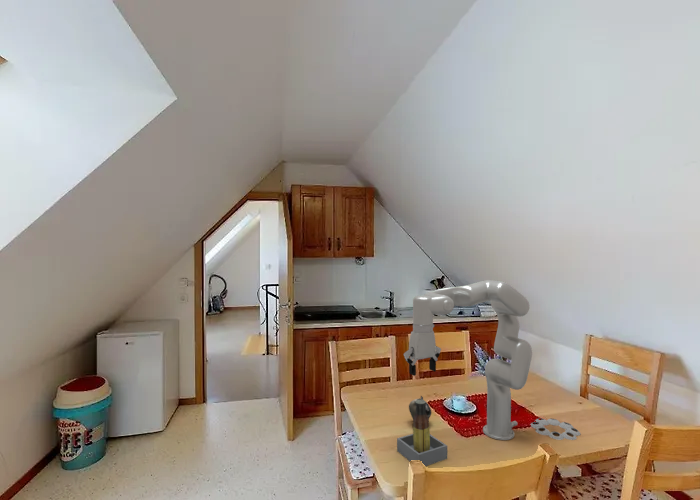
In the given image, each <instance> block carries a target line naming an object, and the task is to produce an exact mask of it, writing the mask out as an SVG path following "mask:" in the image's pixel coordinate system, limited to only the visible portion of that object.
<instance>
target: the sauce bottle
mask: <svg viewBox="0 0 700 500" xmlns="http://www.w3.org/2000/svg"><path fill="white" fill-rule="evenodd" d="M426 402H427V401H426V400H424V399H423V400H416V401H415V405H416V413H415V415H414V417H413V418H412V434H413V441H414V450H416V451H417V452H418V453H422V452H425V451H428V450H430V418H428V416H427V414H426V408H425V406H426Z"/></svg>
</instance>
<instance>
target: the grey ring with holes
mask: <svg viewBox="0 0 700 500" xmlns="http://www.w3.org/2000/svg"><path fill="white" fill-rule="evenodd" d="M539 419H541V420H539ZM535 421H536V422H535ZM533 423H534V424H533ZM536 423H537V424H536ZM529 425H531V426H530V427H531V428H533V429H535V432H536V433H537V434H538V435H541V436H548V437H550V438H551V439H554V440H557V441H559V440H560V441H561V440H562V441H563V440H564V439H565V440H571V441H575V440H577V439H578V438H577V436H578V437H579V436H580V435H581V432H580V431H579V430H578V429H576V428H575V427H574V426H573V425H572V424H571V423H569V422H565V421H563V422H560V420H558V419H556V418H553V417H552V418H548V419H545V418H540V417H538V418H536V419H535V420H534V422H531V423H530V424H529ZM549 425H552V426H557V427H558V426H559V427H560V428H561V429H564V432H562V433H560V432H558V431H550V430H549V429H547V428H546V426H549ZM541 430H542V431H541ZM554 434H555V435H554ZM569 434H570V435H571V436H570V435H569ZM556 435H559V436H556Z"/></svg>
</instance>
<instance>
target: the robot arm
mask: <svg viewBox="0 0 700 500" xmlns="http://www.w3.org/2000/svg"><path fill="white" fill-rule="evenodd" d="M489 301H490V305H491V307H492V309H493V311H494V313H495V314H496V316H497V320H498V325H497V329H496V330H497V331H496V335H495V339H494V343H493V351H494V353H495V354H496V355H497V356H499V357H503V358H505V359H508V360H511V362H509V361H506V360H503V359H500V358H492V359H489V360H488V361H487V362H486V364H485V368H484V374H485V378H486V387H487V388H486V391H487V392H486V394H487V395H486V424H485V425H484V426H483V427H482V432H483V434H484V435H485V436H487V437H489V438H492V439H495V440H499V441H509V440H513V438H515V431H514V430H513V428H514V427H516V426H518V422H517V421H516V420H514V421H511V416H512V415H511V414H512V413H511V411H512V406H511V405H512V392H511V389H512V390H517V391H520V390H522V389H523V388H524V387H525V386H526V383H527V380H528V376H529V372H530V368H531V363H532V357H533V350H532V346H531V344H530V343H529V342H528V341H527V340H525V339H522V338H520V337H519V334H520V333H519V332H520V321H519V318H518V317H524V316H526V315H527V314H528V313H529V311H530V303H529V300H528V299H527V297H526V296H524V294H523V293H521V292H520V291H518V290H517V289H516V288H514V287H513V286H512V284H510V283H508V282H506V281H499V280H495V279H494V280H492V279H485V280H481V281H478V282H474V283H469V284H467V285H462V286H460V285H459V286H454V287H445V288H439V289H436V290H431V291H427V292H426V293H424V294H423V295H415V296H414V297H413V299H412V331H411V332H410V336H409V341H408V350H406V351H405V352H404V353H403V357H404V359H405V361H406V362H407V364H408V371H409V372H408V373H409V375H412V376H417V365H416V363H417V361H418V360H424V359H429V358H430V359H429V360H428V362H429V363H428V364H429V365H428V367H429V368H428V369H429V370H430V371H433V372H436V371H437V361H438V358H439V357H440V353H441V351H442V348H441V347H439V346H437V343H436V336H435V332H434V327H435V324H434V315H440V316H441V315H442V316H445V315H448V314H450V313H451V312H453V310H454V307H472V306H476V305H479V304H482V303H485V302H489Z"/></svg>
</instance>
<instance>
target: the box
mask: <svg viewBox="0 0 700 500" xmlns="http://www.w3.org/2000/svg"><path fill="white" fill-rule="evenodd" d="M396 451H397V452H398V453H399V454H400V455H402V457H404V458H405V459H406V458H407V459H406V460H407V461H409V462H410V461H411V460H420V461H422V463H423V464H424V465H425V467H427V466H430V465H433V464H436V463H439V462H442V461H445V460H447V459H448V445H447V444H446V443H444V442H443V441H441V440H440V439H438V438H436V437H435V436H434V435H432V434H430V450H428V451H425V452H422V453H418V452H417V451H416V450H414V441H413V433H410V434H407V435H404V436H401V437H397V438H396Z"/></svg>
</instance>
